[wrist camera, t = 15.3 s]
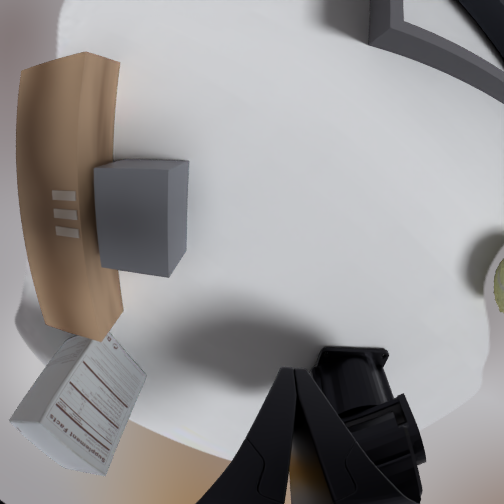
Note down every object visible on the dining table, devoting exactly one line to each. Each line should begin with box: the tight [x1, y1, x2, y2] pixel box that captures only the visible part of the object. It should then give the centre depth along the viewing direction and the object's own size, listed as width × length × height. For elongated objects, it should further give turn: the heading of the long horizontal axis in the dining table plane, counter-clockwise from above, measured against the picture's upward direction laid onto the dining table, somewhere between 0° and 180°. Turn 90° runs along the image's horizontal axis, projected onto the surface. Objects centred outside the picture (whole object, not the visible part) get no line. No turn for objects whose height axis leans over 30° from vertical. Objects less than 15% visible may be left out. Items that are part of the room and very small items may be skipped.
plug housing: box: [94, 159, 189, 278], centre depth 18 cm, size 5×6×4 cm
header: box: [16, 52, 123, 342], centre depth 17 cm, size 11×20×4 cm, turn 174°
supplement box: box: [9, 332, 146, 476], centre depth 21 cm, size 7×7×13 cm
